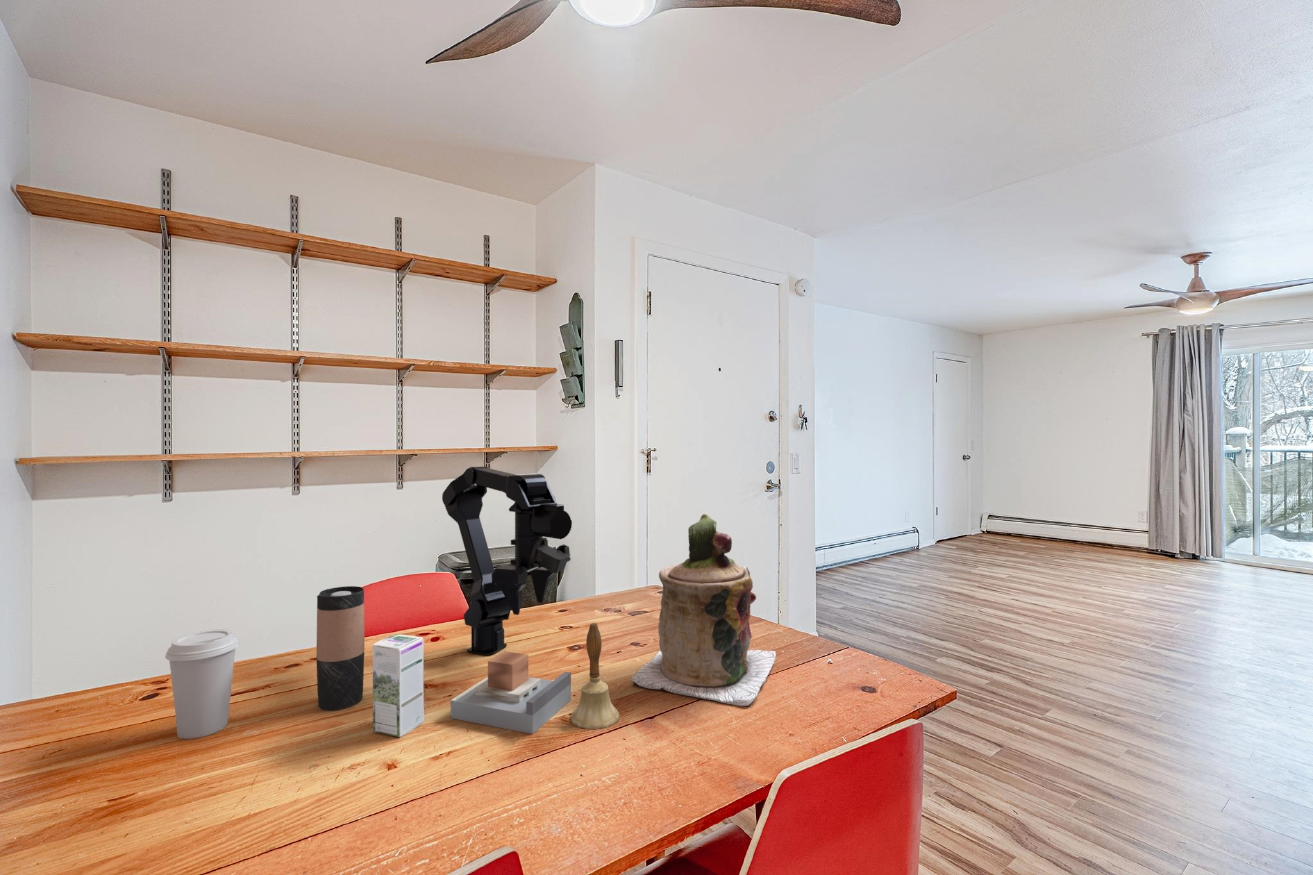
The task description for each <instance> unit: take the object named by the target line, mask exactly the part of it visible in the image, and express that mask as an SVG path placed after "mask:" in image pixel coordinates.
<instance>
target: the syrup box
mask: <svg viewBox="0 0 1313 875" xmlns="http://www.w3.org/2000/svg"><path fill="white" fill-rule="evenodd" d="M424 697H425V696H424V638H423V637H421V636H415V635H414V636H413V635H408V634H407V635H406V634H399V633H396V634H392V635H389V636H387V637H384V638H383V639H380V640H379V641H377V642H375V643H372V728H373V729H372V731H373V732H374V733H376V734H377V733H378V734H383V735H387V736H393V737H398V738H401V737H403V736H405V735H406V734H409V733H410V732H411V731H413V730H415V729H416V728H417V727H420V725H422V724H423V723H424V722H425V714H424V713H425V712H424V710H425V709H424V706H425V705H424V703H425V702H424Z"/></svg>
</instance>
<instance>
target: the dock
mask: <svg viewBox="0 0 1313 875" xmlns="http://www.w3.org/2000/svg"><path fill="white" fill-rule="evenodd" d="M530 677H531V676H530ZM531 678H534V677H533V676H532V677H531ZM536 678H537V679H541V687H540V688H538V689H532V694H530V695H529V696H527V695H524V700H522V701H521V702H520V703H519V702H513V701H507V700H502V699H496V698H490V697H484V696H479V695H475V687H476V686H478V685H480V684H481V683H483V682H484V681H486V680H487V679H488V676H487V677H485V678H484V679H482V680H480V681H479V682H477V683H476V684H474V685H472V686H471V687H470V688H468V689H466V690H465V691H463V692H461V693H460V694H458V695H456V696H455V697H453V698H452V699H450V719H452V720H453V719H454V720H459V721H462V722H469V723H474V724H478V725H479V724H481V725H484V726H489V727H494V728H500V729H505V730H509V731H510V730H511V731H515V732H521V733H526V734H531V735H534V733H536V732H537V731H538V730H539V729H540V728H541V727H542V726H543V725H545V724H546V723H547V722H548V721H549V720H550V719H551V718H553V717H554V716H555V715H556V714H557V713H558V712H559V711H560V710H562V709H563V708H564V707H565V706H566V705H567V704H568V703H570V702H571V701H572V672H569V671H564V672H563V673H561V674H560V675H559V676H558V677H556V678H555V679H554V680H550V679H544V678H538V677H536Z"/></svg>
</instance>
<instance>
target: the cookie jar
mask: <svg viewBox="0 0 1313 875" xmlns="http://www.w3.org/2000/svg"><path fill="white" fill-rule="evenodd" d="M687 530H688V535H687V536H688V553H689V554H688V558H687V559H686V560H684V561H683V562H680V564H673V565H669V566H666V567H664V568H663V569H660V571H659V573H658V579H659V581H660V582H661V584H662V592H661V593H662V595H661V600H660V611H659V617H658V632H657V633H658V636H659V639H658V640H659V641H658V642H659V646H658V647H659V650H658V652H656V653H655V655H654V657H653V658H652V659H651V660H650V661H649V662H647V663H646V664H644V665H643V666H642V667H641V668H639V671H636V672H635V674H634V675H632V677H630V679H631V682H632V685H635V684H636V685H638V686H639V687H642V688H646V689H650V690H664V691H665V692H669V693H671V694H672V693H673V694H677V695H682V696H687V697H693V698H698V699H703V700H709V701H713V702H714V701H715V702H719V703H722V704H728V705H733V706H740V707H741V706H742V707H746V706H750V704H752V703H753V701H754V700H755V699H756V698H757V697H758V695H759V692H760V689H761V687H762V685H763V684H765V683H766V679H767V678H768V676H769V674H770V672H771V670H772V668H773V666H774V665H775V662H776V657H777V655H776V654H777V652H776V651H774V650H761V649H753V650H752V649H750V650H749V648H750V645H751V641H750V640H751V639H752V638H753V635H752V632H751V627H750V619H751V605H752V604H753V603H755V602H756V600H757V596H756V594H755V593H754V592H753V591H752V590H753V587H754V585H753V584H754V583H753V580H752V578H751V574H750V573H751V572H750V570H749V569H748V567H747V566H746V565H745V566H742V567H740V566H739V565H738V564H736V562H735V560H734V559H731V558H729V557H728V556H727V555H726V554H729V553H731V551H732V547H733V546H732V545H733V540H732V537H731V536H730V535H729V534H727V533H724V532H720V531H717V521H716V520H714V519H712V518H711V517H710V516H709V514H706V513H704V514H702V515H701V516H700V519H699V521H697V522H695V523H693V524H691V525H690V526H689V527H688V529H687Z"/></svg>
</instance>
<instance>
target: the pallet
mask: <svg viewBox="0 0 1313 875" xmlns="http://www.w3.org/2000/svg"><path fill="white" fill-rule="evenodd" d="M487 677H488V679H487V680H486V681H484V682H483V683H481V684H480V685H478V686H476V687H475V695H479V696H484V697H490V698H496V699H502V700H507V701H513V702H519V703H520V702H521V701H522V700H524V695H527V696H529V695H530V694H532V689H538V688H540V687H541V679H542V678H539V679H537V678H538V677H533V678H531V676H529V654H526V653H519V652H513V651H512V652H511V651H505V650H504V651H503V652H501V653H499V654H497V655H496V656H494V657H492V658H490V659H488V660H487Z"/></svg>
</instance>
